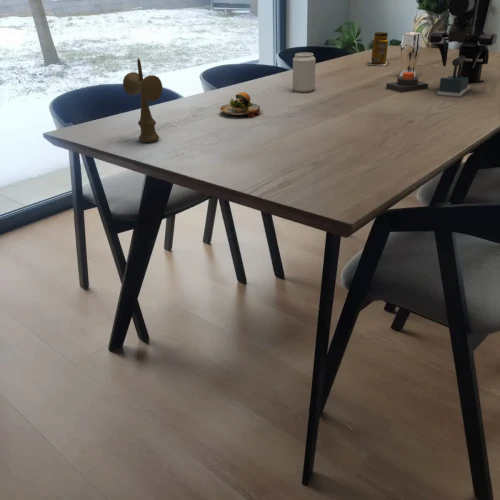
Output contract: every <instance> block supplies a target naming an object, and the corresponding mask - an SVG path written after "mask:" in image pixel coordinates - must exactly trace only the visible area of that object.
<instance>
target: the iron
mask: <svg viewBox="0 0 500 500" xmlns="http://www.w3.org/2000/svg"><path fill="white" fill-rule="evenodd" d="M465 60H466V58H465V56H460V57H459V56H458V57H456V58H454V59H452V62H451V65H452V66H453V72H452V75H448V76H447V77H443V76H442V77H440V79H439V86H438V87H439V88H438V91H437V95H439V96H449V97H459V98H460V97H462V96H463V95H464V94H466V93H467V92H469V91H470V90H471V89H472V88H471V87H472V86H471V85H469V83H468V77H460V74H461V68H462V63H463V62H465Z"/></svg>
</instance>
